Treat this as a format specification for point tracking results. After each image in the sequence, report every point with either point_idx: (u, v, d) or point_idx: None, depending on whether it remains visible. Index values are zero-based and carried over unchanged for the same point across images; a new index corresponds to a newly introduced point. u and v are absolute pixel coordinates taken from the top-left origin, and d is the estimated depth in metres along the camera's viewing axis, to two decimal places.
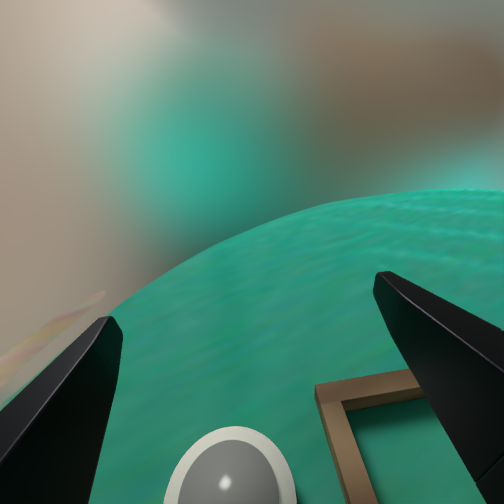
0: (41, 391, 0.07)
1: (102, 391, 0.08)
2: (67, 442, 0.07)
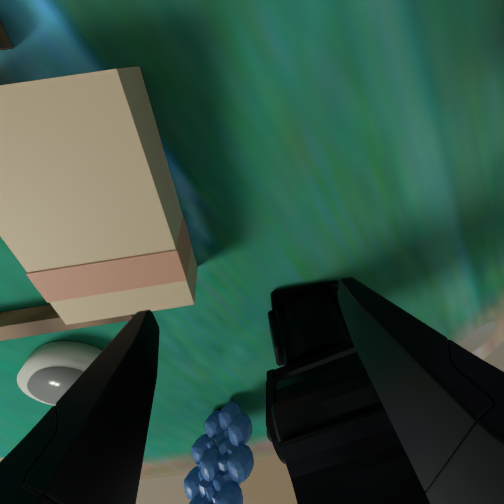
0: (95, 382, 0.07)
1: (145, 384, 0.08)
2: (119, 433, 0.07)
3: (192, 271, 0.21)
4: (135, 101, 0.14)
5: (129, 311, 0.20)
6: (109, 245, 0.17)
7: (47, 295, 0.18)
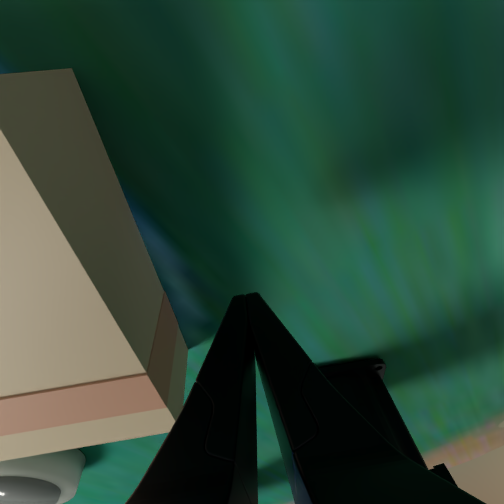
0: (227, 360, 0.07)
1: (253, 366, 0.08)
2: (249, 411, 0.07)
3: (178, 371, 0.14)
4: (47, 139, 0.07)
5: (81, 444, 0.13)
6: (30, 374, 0.10)
7: None
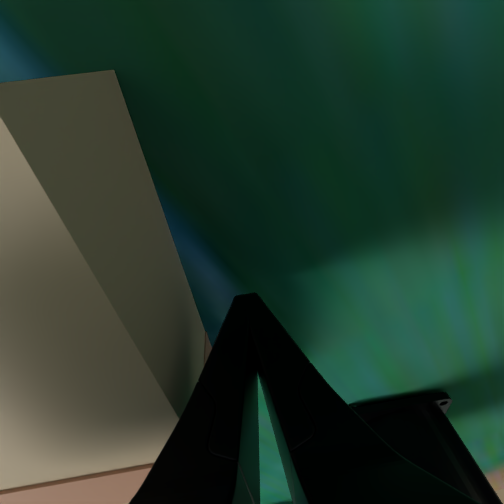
0: (230, 360, 0.07)
1: (254, 366, 0.08)
2: (251, 411, 0.07)
3: None
4: (92, 173, 0.05)
5: None
6: (55, 464, 0.08)
7: None
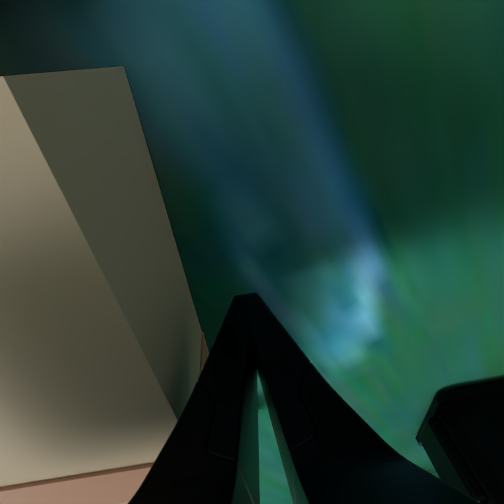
0: (229, 360, 0.07)
1: (254, 366, 0.08)
2: (251, 411, 0.07)
3: None
4: (102, 169, 0.05)
5: None
6: (48, 462, 0.07)
7: None
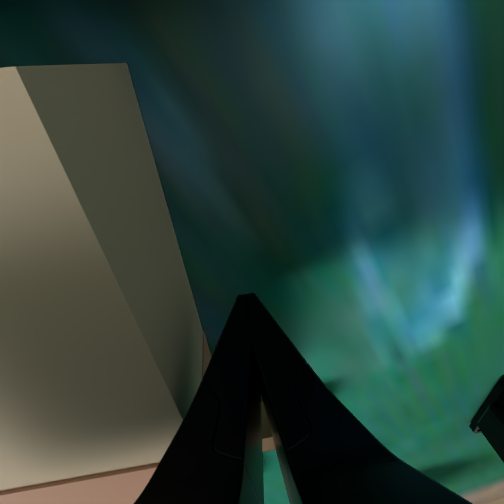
0: (234, 359, 0.07)
1: None
2: (255, 410, 0.07)
3: None
4: (108, 165, 0.05)
5: None
6: (50, 465, 0.07)
7: None
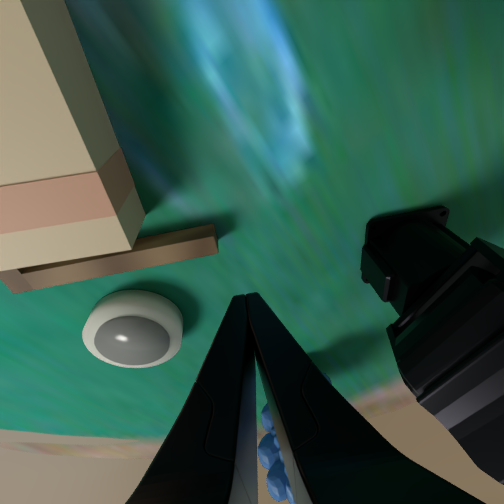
0: (227, 360, 0.07)
1: (253, 366, 0.08)
2: (249, 411, 0.07)
3: (132, 213, 0.18)
4: None
5: (51, 257, 0.16)
6: (8, 162, 0.13)
7: None
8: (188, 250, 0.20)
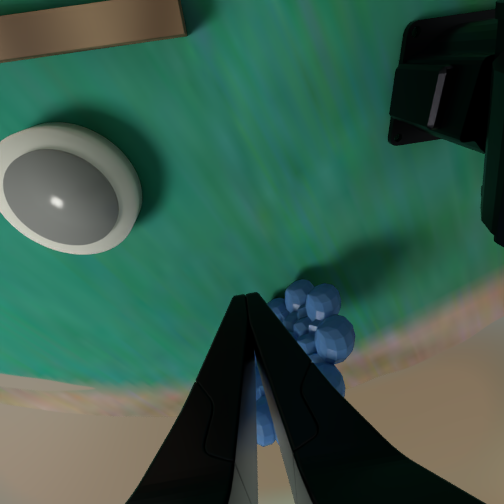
0: (227, 360, 0.07)
1: (253, 366, 0.08)
2: (249, 411, 0.07)
3: None
4: None
5: None
6: None
7: None
8: (137, 19, 0.13)
